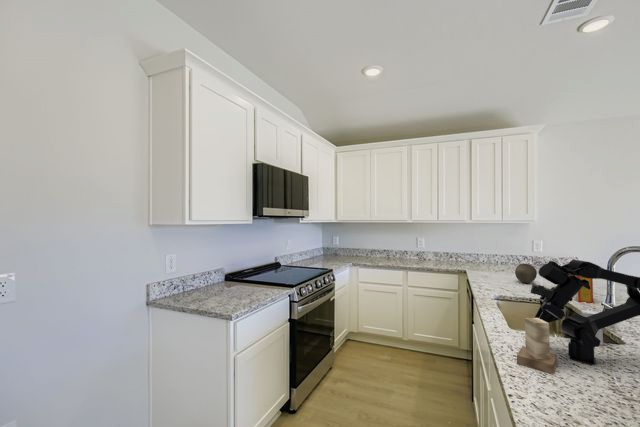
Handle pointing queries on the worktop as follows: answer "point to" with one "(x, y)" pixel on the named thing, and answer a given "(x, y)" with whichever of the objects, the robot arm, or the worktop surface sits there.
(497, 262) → the worktop surface
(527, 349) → the ash block
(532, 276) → the cantaloupe
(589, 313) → the skincare box
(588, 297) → the baking soda box
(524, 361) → the walnut block
